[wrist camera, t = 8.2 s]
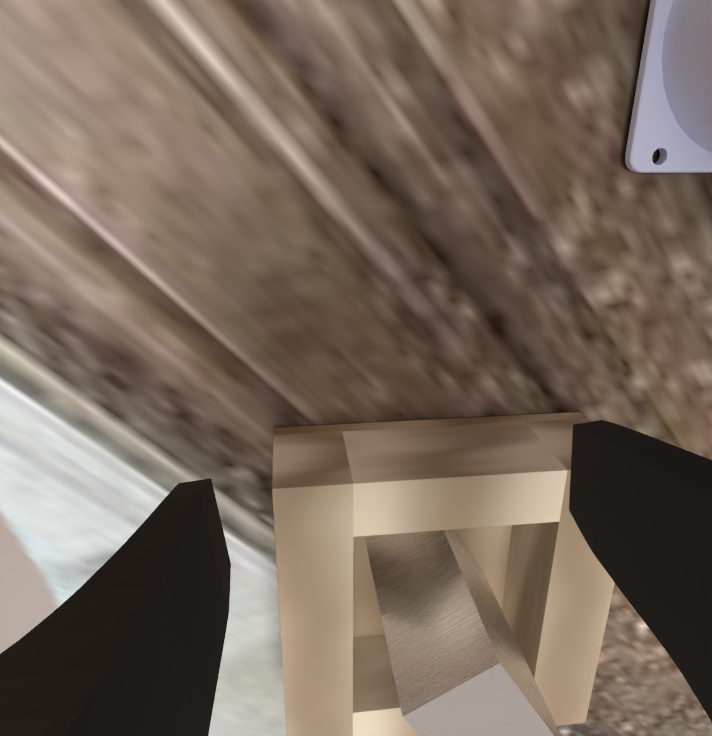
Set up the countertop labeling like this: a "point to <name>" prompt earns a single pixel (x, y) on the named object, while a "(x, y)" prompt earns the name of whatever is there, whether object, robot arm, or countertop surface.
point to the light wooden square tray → (419, 514)
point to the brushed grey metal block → (451, 641)
